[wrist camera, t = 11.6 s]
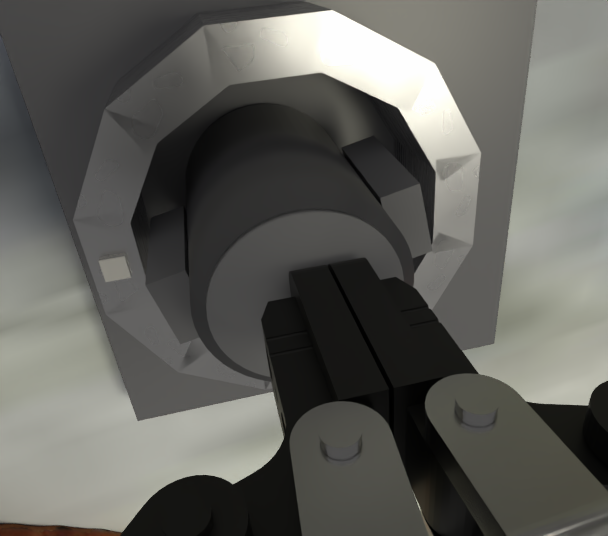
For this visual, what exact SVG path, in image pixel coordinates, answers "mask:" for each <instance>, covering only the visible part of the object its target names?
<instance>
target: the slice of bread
mask: <svg viewBox="0 0 608 536" xmlns="http://www.w3.org/2000/svg"><path fill="white" fill-rule="evenodd" d="M121 534H122V533H120V532H114V531H110V530H105V529H83V528H73V527H67V526H28V525H20V524H0V536H120V535H121Z"/></svg>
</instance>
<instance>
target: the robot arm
mask: <svg viewBox="0 0 608 536" xmlns="http://www.w3.org/2000/svg"><path fill="white" fill-rule="evenodd" d="M289 284H290V292H291V297H289V298H284V299H279V300H274V301H269V302H268V303H267V306H266V308H265V311H264V313H263V316H262V318H261V323H262V329H263V335H264V342H265V348H266V354H267V360H268V366H269V373H270V379H271V383H272V388H273V392H274V396H275V400H276V405H277V409H278V414H279V417H280V422H281V427H282V431H283V435H284V440H283V442H282V444H281V447H280V448H279V450H278V451H277V453H276V454H275V455H274V457H273V458H272V459H271V460H270V461H269V462H268V463H267V464H266V465H264V466H263V467H262V468H260V469H259V470H257V471H256V472H254V473H253V474H251V475H249V476H247V477H246V478H244V479H242V480H240V481H238V482H237V483H235V484H233V485H232V484H231V483H230V482H228V481H226V480H224V479H222V478H219V477H215V476H209V475H195V476H190V477H185V478H182V479H179V480H177V481H175V482H173V483H170V484H168V485H167V486H165V487H164V488H162V489H161V490H159V491H158V492H157V493H156V494H154V495H153V496H152V497H151V498H150V499H149V500H148V501H147V502H146V504H145V505H144V506H143V507H142V508H141V510H140V511H139V512H138V513H137V515H136V516H135V517H134V518H133V520H132V521H131V522H130V523H129V525H128V526H127V527H126V529H125V530H124V531H123V532H122V534H121V535H120V536H608V381H606V382H604V383H602V384H600V385H599V386H598V387H596V388H595V390H594V391H593V392H592V395H591V398H590V402H589V405H588V406H582V405H556V404H538V403H531V402H526V401H525V400H524V399H523V398H522V397H521V396H520V395H519V394H518V393H517V392H516V391H515V390H514V389H513V388H511V387H510V386H508V385H507V384H505V383H503V382H502V381H500V380H497V379H495V378H492V377H489V376H485V375H480V374H478V372H477V371H476V370H475V368H474V367H473V366H472V364H471V363H470V361H469V360H468V359H467V357H466V356H465V355H464V353H463V352H462V351H461V349H460V348H459V346H458V345H457V344H456V342H455V341H454V340H453V338H452V337H451V336H450V334H449V333H448V331H447V330H446V329H445V327H444V326H443V325H442V323H439V321H438V318H437V317H436V315H435V314H434V312H433V311H432V310H431V309H429V307H428V304H427V303H426V302H425V300H424V299H423V297H422V296H421V295H420V293H419V292H418V291H417V289H416V288H414V287H412V286H410V285H409V284H407V283H405V282H404V281H402V280H400V279H399V278H397V277H392V278H387V279H382V280H380V279H379V277H378V276H377V274H376V272H375V271H374V269H373V268H372V266H371V265H370V263H369V262H368V260H367V259H366V258H365V257H363V258H358V259H352V260H347V261H341V262H336V263H331V264H328V266H327V265H321V266H315V267H310V268H305V269H299V270H294V271H289ZM413 492H414V493H413ZM414 494H415V496H414ZM415 497H416V499H417V501H418V503H419V506H420V510H419V507H418V504H417V501H416V499H415Z"/></svg>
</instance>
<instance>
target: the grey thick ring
mask: <svg viewBox="0 0 608 536" xmlns="http://www.w3.org/2000/svg"><path fill="white" fill-rule="evenodd" d="M320 72H322V73H324V74H326V75H329V76H331V77H333V78H335V79H337V80H339V81H342V82H344V83H346V84H348V85H350V86H352V87H354V88H357V89H359V90H361V91H363V92H365V93H367V95H368V97H369V98H370V100H371V102H372V103H373V105H374V107H375V108H376V110H377V111H378V113H379V115H380V116H381V118H382V120H383V121H384V123H385V124H386V126H387V128H388V129H389V131H390V133H391V134H392V136H393V137H394V157H395V158H396V159H397V160H398V161H399V162H400V163H401V164H402V165H403V166H404V167H405V168H406V169H407V171H408V172H409V173H410V174H411V175H412V176H413V177H414V178H415V179H416V180H417V181H418V182H419V183H420V186H421V192H422V197H423V202H424V207H425V213H426V218H427V223H428V229H429V234H430V239H431V245H432V250H433V251H431V252H429V253H426V254H423V255H420V256H418V257H415V258H413V265H414V286H413V287H414V288H416V289H417V291H418V292H419V293H420V295H421V296H422V297H423V299H424V300H425V302H426V303H427V304H428V307H429V309H431V310H432V309H433V308H434V306H435V305H436V303H437V301H438V300H439V298H440V297H441V295H442V294H443V292H444V290H445V289H446V287H447V286H448V284H449V282H450V281H451V279H452V278H453V276H454V275H455V273H456V271H457V270H458V268H459V267H460V265H461V263H462V262H463V260H464V259H465V257H466V256H467V254H468V252H469V251H470V249H471V248H472V246H473V239H474V227H475V216H476V205H477V193H478V182H479V171H480V160H481V152H480V150H479V148H478V146H477V144H476V142H475V140H474V138H473V136H472V134H471V132H470V130H469V128H468V126H467V125H466V123H465V121H464V119H463V117H462V115H461V113H460V111H459V109H458V107H457V105H456V103H455V101H454V99H453V97H452V95H451V93H450V92H449V90H448V88H447V86H446V84H445V82H444V80H443V78H442V76H441V74H440V72H439V70H438V68H437V66H436V64H435V63H434V62H431V61H429V60H428V59H426V58H424V57H422V56H420V55H418V54H416V53H414V52H412V51H410V50H408V49H406V48H404V47H403V46H401V45H399V44H397V43H395V42H393V41H391V40H389V39H387V38H385V37H383V36H381V35H380V34H378V33H376V32H374V31H372V30H370V29H368V28H366V27H364V26H362V25H360V24H358V23H356V22H355V21H353V20H351V19H349V18H347V17H345V16H343V15H341V14H339V13H337V12H335V11H333V10H331V9H328V8H325V7H322V6H319V5H316V4H312V3H309V2H306V1H303V0H302V1H295V2H287V3H278V4H270V5H261V6H252V7H244V8H235V9H227V10H218V11H210V12H201V13H197V14H196V15H195V16H194V17H193V18H191V19H190V20H189V21H188V22H187V23H185V24H184V25H183V26H182V27H181V28H179V29H178V30H177V31H176V32H175V33H174V34H172V35H171V36H170V37H169V38H168V39H166V40H165V41H164V42H163V43H162V44H161V45H159V46H158V47H157V48H156V49H155V50H153V51H152V52H151V53H150V54H149V55H147V56H146V57H145V58H144V59H143V60H142V61H140V62H139V63H138V64H137V65H136V66H134V67H133V68H132V69H131V70H130V71H129V72H127V73H126V74H125V75H124V76H123V77H121V78H120V79H119V80H118V81H117V82H116V84H115V87H114V89H113V91H112V93H111V95H110V98H109V100H108V102H107V104H106V106H105V108H104V113H103V116H102V120H101V123H100V127H99V130H98V134H97V137H96V141H95V144H94V148H93V151H92V155H91V158H90V162H89V165H88V169H87V172H86V176H85V179H84V183H83V186H82V190H81V193H80V197H79V200H78V204H77V207H76V211H75V214H74V217H73V222H74V224H75V227H76V230H77V233H78V236H79V239H80V242H81V245H82V247H83V250H84V253H85V256H86V259H87V262H88V265H89V268H90V270H91V273H92V276H93V279H94V282H95V285H96V288H97V291H98V293H99V296H100V299H101V302H102V305H103V308H104V311H105V314H106V315H107V316H108V317H109V318H111V319H112V320H113V321H114V322H116V323H117V324H118V325H119V326H121V327H122V328H123V329H124V330H126V331H127V332H128V333H129V334H131V335H132V336H133V337H135V338H136V339H137V340H138V341H140V342H141V343H142V344H143V345H145V346H146V347H147V348H148V349H150V350H151V351H152V352H153V353H155V354H156V355H157V356H158V357H160V358H161V359H162V360H163V361H165V362H166V363H167V364H168V365H170V366H171V367H172V368H173V369H175V370H176V371H177V372H179V373H184V374H189V375H194V376H199V377H204V378H209V379H214V380H219V381H224V382H229V383H234V384H239V385H244V386H249V387H254V388H259V389H264V390H267V389H272V383H271V382H269V381H264V380H258V379H255V378H252V377H248V376H245V375H243V374H241V373H238V372H236V371H234V370H232V369H231V368H229V367H227V366H226V365H224V364H223V363H222V362H220V361H219V360H218V359H217V358H215V357H214V356H213V355H212V354H211V352H210V351H209V350H208V349H207V348H206V347H205V345H204V344H203V342H202V341H201V339H200V338H197V339H194V340H191V341H189V342H186V343H183V344H180V343H179V341H178V339H177V338H176V336H175V334H174V333H173V331H172V329H171V328H170V326H169V324H168V323H167V321H166V319H165V318H164V316H163V314H162V313H161V311H160V309H159V308H158V306H157V304H156V302H155V301H154V299H153V297H152V296H151V294H150V292H149V291H148V289H147V287H146V286H145V281H146V270H147V259H148V248H149V237H150V224H149V220H148V216H147V213H146V209H145V205H144V201H143V198H142V194H141V190H142V187H143V184H144V181H145V178H146V175H147V172H148V169H149V166H150V163H151V160H152V157H153V154H154V151H155V148H156V145H157V143H158V142H159V141H161V140H162V139H163V138H164V137H166V136H167V135H168V134H169V133H171V132H172V131H173V130H174V129H176V128H177V127H178V126H179V125H180V124H182V123H183V122H184V121H185V120H187V119H188V118H189V117H190V116H192V115H193V114H194V113H195V112H196V111H198V110H199V109H200V108H201V107H203V106H204V105H205V104H206V103H208V102H209V101H210V100H211V99H213V98H214V97H215V96H216V95H217V94H219V93H220V92H221V91H222V90H224V89H225V88H226V87H227V86H229V85H232V84H239V83H247V82H254V81H261V80H269V79H276V78H283V77H291V76H298V75H305V74H313V73H320Z"/></svg>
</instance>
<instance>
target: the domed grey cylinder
mask: <svg viewBox="0 0 608 536" xmlns="http://www.w3.org/2000/svg"><path fill="white" fill-rule="evenodd" d="M341 148H342V152H343V154H342V153H341V151H340V150H339V149H338V147H337V146H336V145H335V143H334V142H333V141H332V139H331V138H330V137H329V135H328V134H327V133H326V131H325V130H324V129H323V128H322V127H321V126H320V125H319V124H318V123H317V122H316V121H315V120H313V119H312V118H311V117H309V116H308V115H306V114H304V113H302V112H300V111H298V110H295V109H293V108H290V107H286V106H282V105H275V104H257V105H251V106H246V107H243V108H240V109H237V110H234V111H232V112H230V113H228V114H226V115H224V116H223V117H221V118H220V119H218V120H217V121H216V122H214V123H213V124H212V125H211V126H209V128H208V129H207V130H206V131H205V132H204V133H203V134H202V135H201V137H200V138H199V140H198V141H197V142H196V144H195V146H194V148H193V150H192V152H191V155H190V158H189V161H188V165H187V170H186V205H187V212H186V210H185V208H184V206H181V207H179V208H176V209H173V210H171V211H168V212H165V213H163V214H160V215H157V216H154V217H152V218H151V225H150V237H149V248H148V259H147V270H146V281H145V286H146V287H147V289H148V291H149V292H150V294H151V296H152V297H153V299H154V301H155V302H156V304H157V306H158V308H159V309H160V311H161V313H162V314H163V316H164V318H165V319H166V321H167V323H168V324H169V326H170V328H171V329H172V331H173V333H174V334H175V336H176V338H177V339H178V341H179V343H180V344H183V343H186V342H189V341H191V340H194V339H197V338H200V339H201V341H202V342H203V344H204V345H205V347H206V348H207V349H208V350H209V351H210V352H211V354H212V355H213V356H214V357H215V358H217V359H218V360H219V361H220V362H222V363H223V364H224V365H226V366H227V367H229V368H231V369H232V370H234V371H236V372H238V373H241V374H243V375H245V376H248V377H252V378H255V379H258V380H264V381H269V382H271V379H270V373H269V366H268V360H267V354H266V348H265V342H264V335H263V329H262V323H261V318H262V316H263V313H264V311H265V308H266V306H267V303H268V302H269V301H274V300H279V299H284V298H289V297H291V292H290V284H289V271H294V270H299V269H305V268H310V267H315V266H321V265H327V266H328V264H331V263H336V262H341V261H347V260H352V259H358V258H363V257H365V258H366V259H367V260H368V262H369V263H370V265H371V266H372V268H373V269H374V271H375V272H376V274H377V276H378V277H379V279H380V280H382V279H387V278H392V277H397V278H399V279H400V280H402V281H404V282H405V283H407V284H409V285H410V286H412V287H413V286H414V265H413V258H415V257H418V256H420V255H423V254H426V253H429V252H431V251H433V250H432V245H431V239H430V234H429V229H428V223H427V218H426V213H425V207H424V202H423V197H422V192H421V186H420V183H419V182H418V181H417V180H416V179H415V178H414V177H413V176H412V175H411V174H410V173H409V172H408V171H407V169H406V168H405V167H404V166H403V165H402V164H401V163H400V162H399V161H398V160H397V159H396V158H395V157H394V156H393V155H392V154H391V153H390V152H389V151H388V150H387V149H386V148H385V147H384V146H383V145H382V144H381V143H380V142H379V141H378V140H377V139H376V137H375V136H371V137H368V138H365V139H363V140H360V141H357V142H355V143H352V144H349V145H346V146H344V147H341Z"/></svg>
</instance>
